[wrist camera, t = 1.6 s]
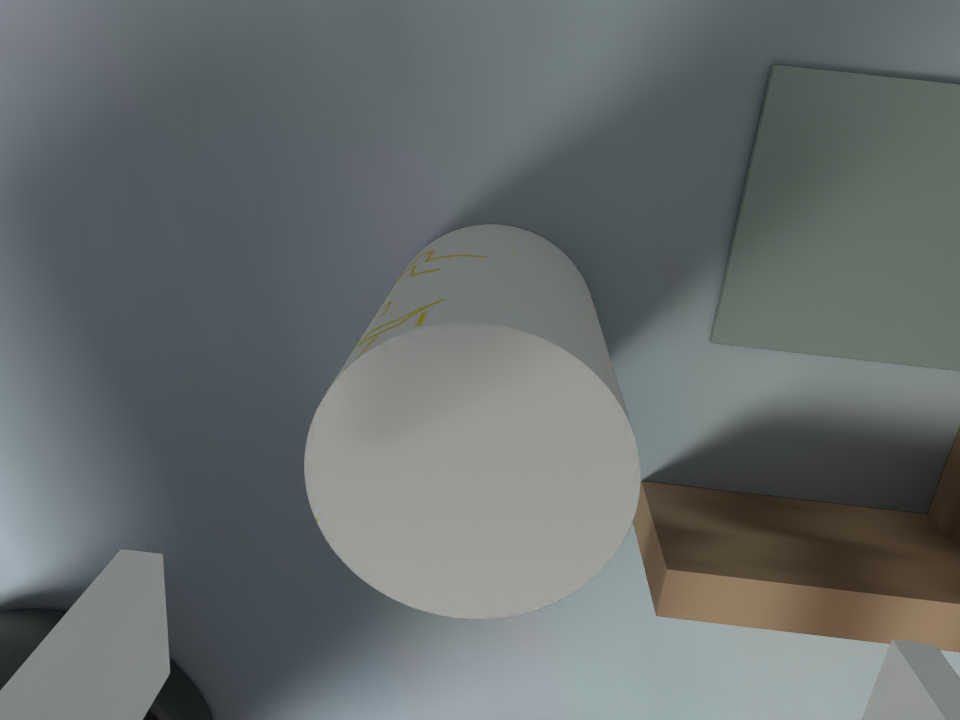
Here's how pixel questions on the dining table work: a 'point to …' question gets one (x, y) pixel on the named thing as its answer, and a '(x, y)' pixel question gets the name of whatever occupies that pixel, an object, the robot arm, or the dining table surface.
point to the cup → (477, 434)
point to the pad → (849, 222)
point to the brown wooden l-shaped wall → (805, 562)
